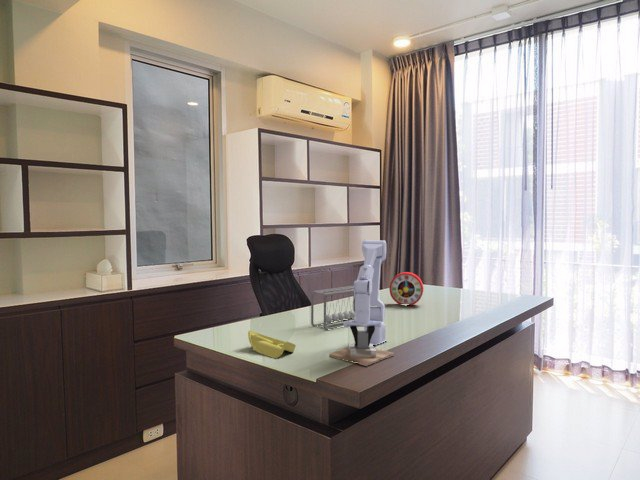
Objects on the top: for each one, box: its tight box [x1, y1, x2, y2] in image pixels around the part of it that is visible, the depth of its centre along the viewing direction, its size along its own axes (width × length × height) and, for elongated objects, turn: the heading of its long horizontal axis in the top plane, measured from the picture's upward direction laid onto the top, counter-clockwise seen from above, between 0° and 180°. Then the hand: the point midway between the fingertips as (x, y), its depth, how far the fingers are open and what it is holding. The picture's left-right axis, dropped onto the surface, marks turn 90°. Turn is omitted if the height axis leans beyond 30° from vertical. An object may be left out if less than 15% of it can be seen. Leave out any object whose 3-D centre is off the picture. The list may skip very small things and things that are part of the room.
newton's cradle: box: [310, 285, 355, 331], centre depth 228 cm, size 30×10×18 cm, turn 131°
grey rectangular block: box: [356, 330, 368, 349], centre depth 176 cm, size 4×4×7 cm
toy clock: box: [388, 271, 424, 306], centre depth 278 cm, size 20×6×20 cm, turn 73°
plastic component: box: [247, 329, 297, 359], centre depth 183 cm, size 20×7×10 cm
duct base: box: [328, 343, 395, 364], centre depth 177 cm, size 18×18×4 cm
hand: (362, 345), depth 177 cm, fingers closed on grey rectangular block, 4 cm apart
